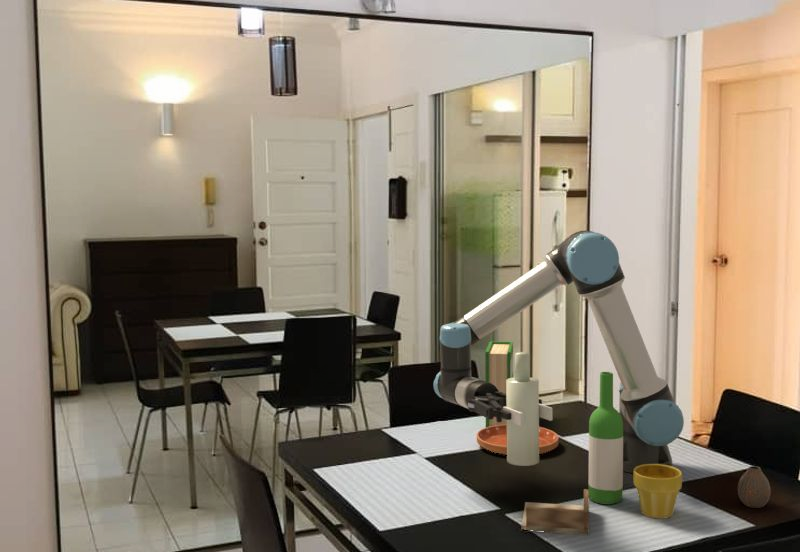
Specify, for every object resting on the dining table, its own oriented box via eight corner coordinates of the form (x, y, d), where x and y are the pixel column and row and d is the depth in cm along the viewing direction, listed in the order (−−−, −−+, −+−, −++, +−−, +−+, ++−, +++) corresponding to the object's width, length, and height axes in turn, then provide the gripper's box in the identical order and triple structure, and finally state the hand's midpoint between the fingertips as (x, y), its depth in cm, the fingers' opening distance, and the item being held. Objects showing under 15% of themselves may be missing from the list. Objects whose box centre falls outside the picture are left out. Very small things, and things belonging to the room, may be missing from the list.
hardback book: (510, 431, 264) (510, 352, 261) (485, 430, 265) (485, 351, 263) (513, 416, 281) (513, 341, 279) (489, 415, 282) (489, 341, 280)
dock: (588, 510, 199) (588, 489, 198) (588, 535, 185) (588, 512, 185) (525, 507, 201) (525, 486, 201) (521, 530, 188) (521, 508, 187)
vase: (767, 512, 196) (768, 474, 195) (734, 507, 200) (735, 469, 199) (772, 503, 202) (773, 465, 201) (740, 497, 206) (741, 461, 205)
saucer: (571, 443, 252) (571, 430, 251) (538, 465, 233) (538, 451, 232) (498, 432, 264) (498, 420, 264) (462, 452, 245) (462, 439, 244)
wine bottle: (585, 493, 210) (586, 369, 207) (618, 493, 209) (619, 369, 206) (591, 505, 202) (592, 376, 199) (625, 505, 202) (627, 376, 199)
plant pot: (653, 525, 190) (654, 481, 189) (623, 509, 199) (623, 467, 198) (691, 517, 194) (692, 474, 193) (659, 502, 203) (660, 461, 202)
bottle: (540, 456, 197) (539, 350, 194) (538, 466, 190) (537, 356, 188) (508, 455, 198) (507, 350, 196) (505, 465, 192) (504, 356, 189)
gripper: (512, 405, 214) (573, 427, 194) (441, 417, 205) (498, 441, 184) (512, 375, 213) (573, 393, 193) (441, 385, 204) (497, 405, 184)
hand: (536, 416), depth 189 cm, fingers closed on bottle, 7 cm apart
